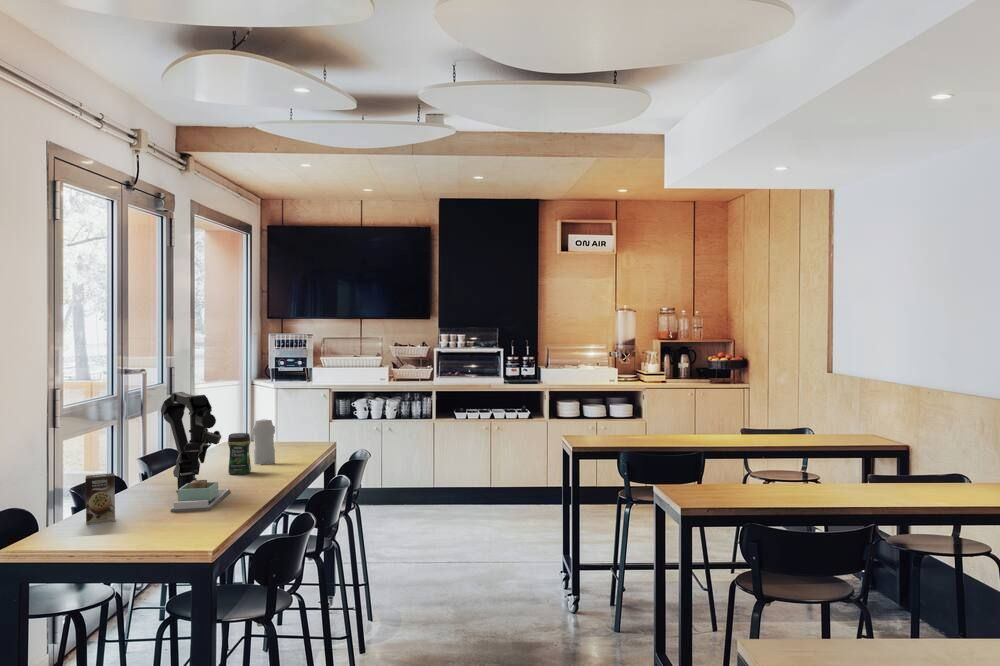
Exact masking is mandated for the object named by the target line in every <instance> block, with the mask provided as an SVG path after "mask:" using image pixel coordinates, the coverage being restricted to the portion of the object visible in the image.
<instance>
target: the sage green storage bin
mask: <svg viewBox="0 0 1000 666" xmlns="http://www.w3.org/2000/svg"><path fill="white" fill-rule="evenodd" d="M177 490H178V492H177V502H182V501H202V500H208V503H209V501H211V500H212V499H213V498H214V497H215V496H216V495H218V490H219V481H212V482H211V481H209V482H208V481H207V488H197V489H190V483H187V484H185V485H184V486H183V487H181V488H180V489H178V488H177Z"/></svg>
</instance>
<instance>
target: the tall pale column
mask: <svg viewBox="0 0 1000 666" xmlns="http://www.w3.org/2000/svg"><path fill="white" fill-rule="evenodd" d="M272 421H273V420H272V419H267V418H266V419H265V418H263V419H257V420H255V422H254V425H253V427H252V435H253V439H254V441H253V442H254V449H253V457H254V458H253V459H254V460H253V461H254V464H266V465H275V464H276V457H275V456H276V453H275V452H276V449H275V445H274V441H275V439H274V437H275V434H276V427H275V425H274V424H273V422H272Z"/></svg>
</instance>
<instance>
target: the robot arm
mask: <svg viewBox="0 0 1000 666" xmlns="http://www.w3.org/2000/svg"><path fill="white" fill-rule="evenodd" d="M160 407H161V408H160V412H161V414H162V416H163V418H164V421H166V422H167V423H169V424H170V425H169V426H170V428H171V432H172V436H173V440H174V443H175V447H176V450H177V454H178V455H177V458H176V461H175V464H176V465H175V466H174V469H173V471H172V472H173V473H172V474H173V477H175V478H176V479H177V490H176V493H178V489H180V488H181V487H183V486H184V485H185V484H187V483H191V482H192V481H193V480H198V478H196V475H199V474H200V469H201V468H200V467H201V464H204V463H205V460H206V455H207V451H208V449H209V448H210V447H211V446H212V444H213V445H218V444H220V441H221V439H222V434H221V433H220V431H219V430H215V431H214V432H212V431H211V432H210V431H209V429H212V428H213V427H214V426H215V425H216V422H217V419H216V416H215V415H214V414H212V411H213V410H212V408H213V407H212V405H211V403H210V401H209V399H208V397H207V395H206V394H197V395H196V394H195V395H194V394H190V393H186V392H184V391H177V392H176V391H175V392H172V393H171V394H170V396H169V397H168V398H166V399H165V400H164V401H163V403H162V405H161V406H160ZM186 409H187V410H188V411H189V412H188V416H189V423H190V424H189V426H190V429H189V430H188V433H189V434H190V440H188V437H187V433H186V429H185V426H184V422H183V417H184V415H185V410H186Z"/></svg>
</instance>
